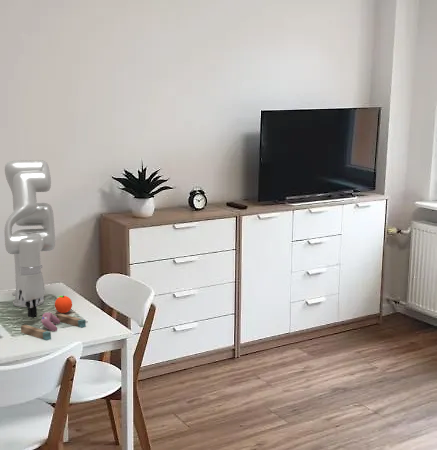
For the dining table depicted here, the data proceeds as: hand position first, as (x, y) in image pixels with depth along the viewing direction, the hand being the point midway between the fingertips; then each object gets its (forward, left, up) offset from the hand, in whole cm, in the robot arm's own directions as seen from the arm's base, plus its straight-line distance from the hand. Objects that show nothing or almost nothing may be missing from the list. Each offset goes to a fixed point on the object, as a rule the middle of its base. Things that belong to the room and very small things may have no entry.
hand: (32, 316), depth 263 cm
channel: (+12, 0, -3) cm, 12 cm away
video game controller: (+9, +1, -3) cm, 10 cm away
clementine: (-1, +16, -3) cm, 17 cm away
